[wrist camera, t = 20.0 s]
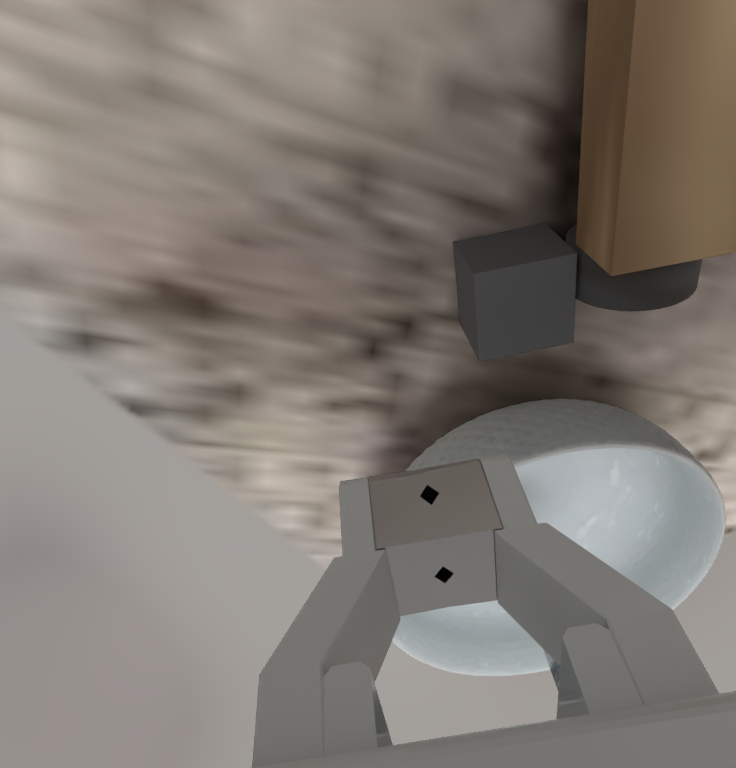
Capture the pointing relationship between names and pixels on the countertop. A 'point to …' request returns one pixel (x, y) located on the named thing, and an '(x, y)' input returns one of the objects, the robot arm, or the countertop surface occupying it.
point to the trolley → (655, 150)
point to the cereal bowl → (577, 518)
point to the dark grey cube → (516, 291)
